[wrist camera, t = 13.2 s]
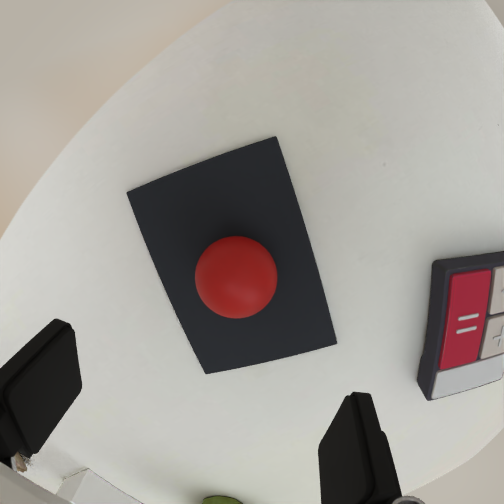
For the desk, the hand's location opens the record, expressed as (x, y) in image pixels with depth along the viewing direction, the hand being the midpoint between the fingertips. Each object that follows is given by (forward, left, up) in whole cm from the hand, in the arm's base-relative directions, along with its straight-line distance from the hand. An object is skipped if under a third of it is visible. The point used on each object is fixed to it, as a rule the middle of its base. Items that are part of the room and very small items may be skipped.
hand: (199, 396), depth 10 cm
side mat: (+2, -2, -19) cm, 20 cm away
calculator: (+15, +20, -19) cm, 32 cm away
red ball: (+2, -1, -16) cm, 16 cm away
